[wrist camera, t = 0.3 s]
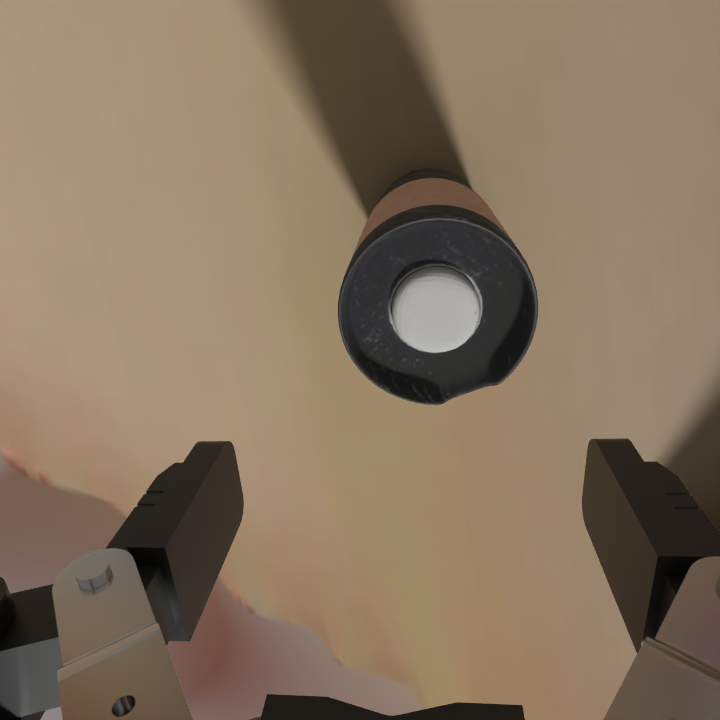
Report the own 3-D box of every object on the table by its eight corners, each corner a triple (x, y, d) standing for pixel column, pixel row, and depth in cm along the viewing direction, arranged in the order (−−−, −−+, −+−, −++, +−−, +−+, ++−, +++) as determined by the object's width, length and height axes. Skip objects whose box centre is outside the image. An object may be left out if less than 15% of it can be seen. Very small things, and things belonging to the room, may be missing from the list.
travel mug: (396, 146, 37) (377, 177, 19) (502, 189, 38) (582, 260, 19) (356, 252, 40) (307, 367, 22) (455, 291, 41) (485, 435, 23)
